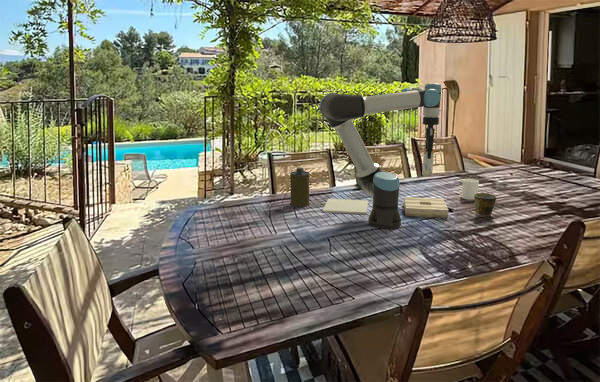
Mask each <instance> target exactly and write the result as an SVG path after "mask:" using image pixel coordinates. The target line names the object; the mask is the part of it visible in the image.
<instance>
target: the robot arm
mask: <svg viewBox="0 0 600 382" xmlns="http://www.w3.org/2000/svg"><path fill="white" fill-rule="evenodd" d="M441 96H442V84H440V83H426V84H425V85H424V87H407V88H406V87H405V88H403V89H401V91H400V92H393V93H384V94H376V95H369V96H363V95H362V94H357V95H355V94H354V95H349V94H342V93H337V92H332V93H327V94H325V95H324V96H323V97H322V98H321V100H320V102H319V104H318V105H319V106H318V109H319V112H320V114H321V116H322V117H324V118H325V119H326V121H327V123H328V124H329V126H330V128H332V129H335V131H336V133H337V135H338V137H339V138H340V140H341V142H342V144H343V146H344V148H345V150H346V152H347V154H348V156H349V157H350V159H351V161H352V162H353V165H354V167H355V168H356V177H357V179H358V181H357V182H358V186H359V187H360V189H361V190H362V191H363V192H364V193H366V194H368V195H370V196H371V197H372V207H371V210H370V213H369V216H368V219H367V223H368V225H369V226H370V227H373V228H376V229H382V230H388V229H389V230H390V229H393V230H394V229H397V228H399V227H401V226H402V219H401V214H400V211H399V200H400V199H399V197H400V184H401V182H400V178H399V176H398V175H397V174H395V173H393V172H388V171H383V170H381V167H380V166H379V164H378V162H377V163H376V162H374V161H373V159H372V156H371V155H370V153H369V151H368V149H367V146H366V145H365V142H364V141H363V139H362V137H361V135H360V133H359V131H358V129H357V127H356V125H355V123H354V121H353V120H354V119H359V118H364V117H365V116H367V115H371V114H378V113H379V114H380V113H385V112H386V113H387V112H393V111H400V110H407V109H413V108H416V109H417V108H422V107H423V111H422V115H423V117H422V125H425V126H427V127H426V128H425V144H424V145H425V146H424V147H425V148H424V149H427V151H425V152H426V164H425V165H431V162H432V151H433V149H434V138H435V131H436V130H435V127H434V126H438V125H439V124H440V117H439V116H440V112H441V111H442V109H441Z"/></svg>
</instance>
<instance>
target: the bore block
mask: <svg viewBox="0 0 600 382" xmlns="http://www.w3.org/2000/svg"><path fill="white" fill-rule="evenodd" d="M403 200H404V202H403V205H404V206H403V207H404V213H405V217H421V218H422V217H423V218H425V217H426V218H440V219H441V218H442V219H448V218H449V208H448V206H447V204H446V201H445V199H444V198H431V197H430V198H429V197H411V196H410V197H406V196H404V199H403Z"/></svg>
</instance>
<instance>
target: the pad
mask: <svg viewBox="0 0 600 382" xmlns="http://www.w3.org/2000/svg"><path fill="white" fill-rule="evenodd" d="M368 207H369V200H366V199H365V200H364V199H344V198H342V199H341V198H328V199H327V200H326V203H325V204H324V206H323V209H322V213H332V214H334V213H335V214H352V215H367V214H368Z"/></svg>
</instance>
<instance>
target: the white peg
mask: <svg viewBox="0 0 600 382" xmlns="http://www.w3.org/2000/svg"><path fill="white" fill-rule="evenodd" d="M425 151H427V149H425V148H423V157H422V173H421V175H422V176H423V177H432V176H433V169H434V156H435V155H434V153H435V149H434V148H433V151H432V162H431V165H425V164H426V152H425Z"/></svg>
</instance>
